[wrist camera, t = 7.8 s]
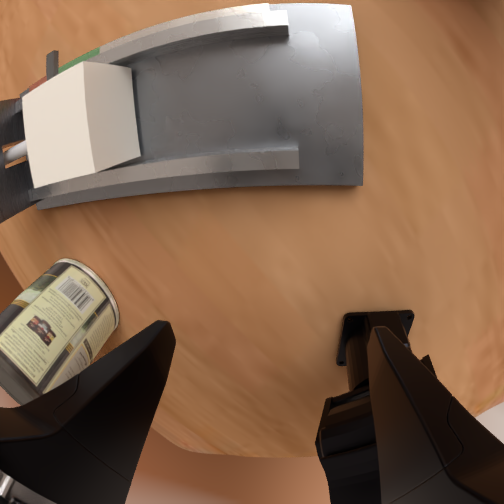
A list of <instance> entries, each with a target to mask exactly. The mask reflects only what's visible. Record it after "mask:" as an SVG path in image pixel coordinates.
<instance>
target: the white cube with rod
mask: <svg viewBox="0 0 504 504" xmlns="http://www.w3.org/2000/svg"><path fill="white" fill-rule="evenodd" d="M46 73H47V81H46V82H45V83H43V84H42V85H40V86H38V87H37V88H35V89H34V90H32V91H31V92H29V93H28V94H26V95H25V96H23V97H22V106H23V119H24V129H25V138H26V140H25V141H23V142H21V143H19V144H17V145H16V146H14V147H12V148H10V149H9V150H7V151H5V152H4V153H3V157H4V163H5V165H7V164H9V163H11V162H13V161H15V160H17V159H19V158H21V157H23V156H25V155H27V154H28V158H29V164H30V169H31V174H32V179H33V184H34V188H38V187H41V186H45V185H48V184H52V183H56V182H59V181H63V180H67V179H71V178H75V177H79V176H84V175H88V174H93V173H96V172H99V171H101V170H104V169H106V168H109V167H112V166H114V165H117V164H120V163H122V162H125V161H128V160H131V159H134V158H136V157H139V156H141V155H140V148H139V141H138V133H137V125H136V117H135V108H134V97H133V86H132V72H131V68H129V67H123V66H117V65H111V64H104V63H96V62H87V61H82V62H80V63H78V64H77V65H75V66H73V67H71V68H69V69H67V70H65V71H63V72H62V73H60V74H59V73H58V51H52V52H51V53H49V54H48V55H47V60H46Z"/></svg>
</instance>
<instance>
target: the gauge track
mask: <svg viewBox="0 0 504 504" xmlns="http://www.w3.org/2000/svg"><path fill="white" fill-rule="evenodd" d="M82 61H87V62H96V63H104V64H111V65H117V66H123V67H129V68H131V72H132V86H133V97H134V108H135V117H136V125H137V133H138V141H139V148H140V155H141V156H139V157H136V158H134V159H131V160H128V161H125V162H122V163H120V164H117V165H114V166H112V167H109V168H106V169H104V170H101V171H99V172H96V173H93V174H88V175H84V176H79V177H75V178H71V179H67V180H63V181H59V182H56V183H52V184H48V185H45V186H41V187H38V188H34V184H33V179H32V174H31V169H30V164H29V158H28V154H27V155H26V159H27V161H25V162H22V163H19V164H17V165H14V166H12V167H9V168H6V169H5V163H4V157H3V150H2V149H3V148H6V147H9V146H12V145H16V144H19V143H21V142H23V141H25V140H26V138H25V129H24V119H23V106H22V97H23V96H25V95H26V94H28V93H29V92H31V91H32V90H34V89H35V88H37V87H38V86H40V85H42V84H43V83H45V82H46V81H47V76H45V77H43V78H42V79H40V80H39V81H37V82H36V83H34V84H33V85H31V86H30V87H29V88H28V89H27V90H25V91H24V92H23V93H21V94H20V98H16V99H9V100H4V101H0V223H2V222H4V221H5V220H7V219H9V218H10V217H12V216H14V215H16V214H17V213H19V212H21V211H23V210H25V209H26V208H28V207H30V206H32V205H34V204H36V206H37V210H42V209H47V208H52V207H58V206H64V205H70V204H76V203H82V202H89V201H96V200H103V199H110V198H118V197H126V196H134V195H143V194H153V193H163V192H173V191H185V190H198V189H212V188H229V187H249V186H279V185H354V186H363V109H362V92H361V78H360V67H359V57H358V49H357V41H356V33H355V27H354V20H353V14H352V9H351V5H340V4H322V3H287V4H268V3H267V4H255V5H246V6H239V7H232V8H225V9H219V10H214V11H209V12H204V13H199V14H195V15H190V16H186V17H182V18H179V19H175V20H171V21H168V22H164V23H161V24H158V25H155V26H152V27H149V28H146V29H143V30H140V31H137V32H134V33H132V34H129V35H126V36H124V37H121V38H119V39H116V40H114V41H112V42H109V43H107V44H105V45H103V46H100V47H98V48H96V49H94V50H92V51H90V52H88V53H86V54H84V55H82V56H80V57H78V58H76V59H74V60H72V61H70V62H69V63H67V64H65V65H63V66H62V67H60V68H58V73H59V74H60V73H62V72H63V71H65V70H67V69H69V68H71V67H73V66H75V65H77V64H78V63H80V62H82Z"/></svg>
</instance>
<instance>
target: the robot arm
mask: <svg viewBox="0 0 504 504" xmlns="http://www.w3.org/2000/svg"><path fill="white" fill-rule="evenodd" d="M409 315H410V316H409ZM407 316H409V317H407ZM348 318H351V319H348ZM413 320H414V313H413V311H412V310H402V311H382V312H354V313H347V314H345V315H344V318H343V325H342V331H341V337H340V342H339V348H338V353H337V358H336V363H337V365H338V366H347V373H348V383H349V392H347V393H345V394H342V395H339V396H336V397H330V398H327V399H326V400H325V405H324V409H323V413H322V417H321V421H320V425H319V428H318V432H317V437H316V441H315V445H316V448H317V453H318V457H319V460H320V462H321V464H322V467H323V469H324V471H325V474H326V477H327V481H328V486H329V493H330V502H331V504H504V444H503V443H502V442H501V441H500V440H498V439H497V438H496V437H495V436H494V435H493V434H492V433H491V432H490V431H488V430H487V429H486V428H485V427H484V426H483V425H482V424H481V423H480V422H479V421H477V420H476V419H475V418H474V417H473V416H472V415H471V414H470V413H469V412H468V411H467V410H466V409H465V408H464V407H463V406H462V405H461V404H460V403H459V401H458V400H457V399H456V398H455V397H454V396H452V394H451V393H450V392H449V391H448V390H447V389H446V387H445V386H444V385H443V384H442V383H441V382H440V381H439V380H438V379H437V376H436V373H435V371H434V368H433V365H432V362H431V360H430V357H429V354H428V355H426V356H425V357H423V359H421V360H419V359H418V358H417V357H416V356H415V355H414V354H413V353H412V350H411V347H410V342H409V340H408V334H409V331H410V328H411V326H412V323H413ZM175 345H176V339H175V336H174V333H173V330H172V327H171V324H170V323H169V322H168V321H162V320H157V321H155V322H154V323H152V324H151V325H149V326H148V327H146V328H145V329H143V330H142V331H140V332H139V333H138V334H136V335H135V336H133V337H132V338H130V339H129V340H127V341H126V342H124V343H123V344H121V345H120V346H118V347H117V348H115V349H114V350H112V351H111V352H109V353H108V354H106V355H105V356H103V357H102V358H100V359H99V360H97V361H96V362H94V363H93V364H91V365H90V366H88V367H87V368H85V369H84V370H82V371H81V372H80V374H79V373H78V374H76V375H75V376H73V377H72V378H70V379H69V380H67V381H65V382H64V383H62V384H61V385H59V386H57V387H56V388H54V389H52V390H50V391H49V392H47V393H45V394H43V395H41V396H39V397H37V398H36V399H34V400H32V401H30V402H28V403H26V404H24V405H22V406H19V407H15V408H3V407H0V504H125V501H126V498H127V495H128V492H129V488H130V486H131V482H132V479H133V476H134V473H135V470H136V467H137V464H138V461H139V458H140V454H141V452H142V449H143V446H144V443H145V440H146V437H147V435H148V431H149V429H150V426H151V423H152V420H153V418H154V415H155V412H156V409H157V407H158V404H159V401H160V398H161V396H162V393H163V390H164V387H165V384H166V381H167V378H168V374H169V369H170V365H171V361H172V357H173V353H174V350H175Z"/></svg>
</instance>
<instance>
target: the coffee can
mask: <svg viewBox="0 0 504 504" xmlns="http://www.w3.org/2000/svg"><path fill="white" fill-rule="evenodd" d="M118 323H119V312H118V307H117V304H116V301H115V299H114V297H113V295H112V294H111V292H110V290H109V289H108V287H107V286H106V284H105V283H104V282H103V281H102V280H101V279H100V278H99V276H98V275H97V274H95V273H94V272H93V271H92V270H91V269H90V268H88V267H87V266H85V265H84V264H82V263H80V262H78V261H76V260H72V259H67V258H64V259H60V260H58V261H57V262H55V263H54V265H53V266H52V267H51V268H49V269H48V270H47V271H46V272H45V273H44V274H43V275H41V276H40V277H39V278H38V279H37V280H36V281H35V282H33V283H32V284H31V285H30V286H29V287H28V288H27V289H26V290H25V291H23V292H22V294H20V295H19V296H18V297H17V298H16V299H15V300H14V301H13V302H12V303H11V304H10V305H9V306H8V307H7V308H6V309H5V310H4V311H3V312H2V313H1V314H0V386H1V387H2V388H3V389H4V390H5V391H6V392H7V393H8V394H9V395H10V396H11V397H12V398H13V399H14V400H15V401H16V402H17V403H19V404H20V405H21V406H22V405H24V404H26V403H28V402H30V401H32V400H34V399H36V398H37V397H39V396H41V395H43V394H45V393H47V392H49V391H50V390H52V389H54V388H56V387H57V386H59V385H61V384H62V383H64V382H65V381H67V380H69V379H70V378H72V377H73V376H75V375H76V374H78V373H79V374H80V372H81V371H82V370H84V369H85V368H87V367H88V366H89V365H90V364H91V362H92V361H93V359H94V358H95V356H96V355H97V354H98V352H99V351H100V349H101V348H102V346H103V345H104V343H105V342H106V340H107V339H108V338H109V336H110V335H111V333H112V332H113V331H114V330H115V329H116V327H117V326H118Z"/></svg>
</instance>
